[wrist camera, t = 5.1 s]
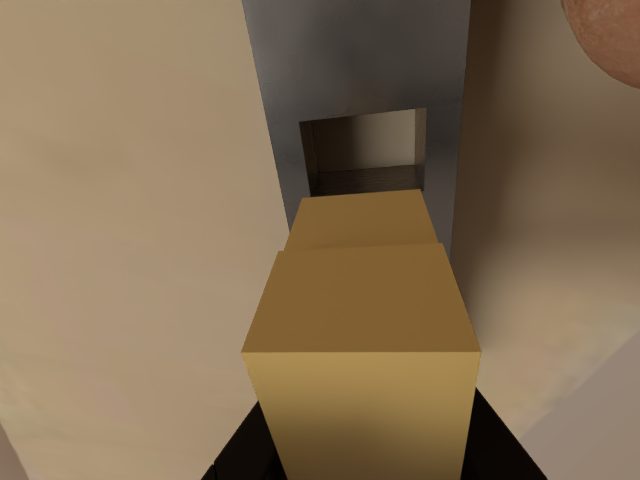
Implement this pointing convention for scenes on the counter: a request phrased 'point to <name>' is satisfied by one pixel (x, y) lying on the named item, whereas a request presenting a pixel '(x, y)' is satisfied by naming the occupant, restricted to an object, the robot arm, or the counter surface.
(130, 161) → the counter surface
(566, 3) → the onion
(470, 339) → the yellow rectangular block
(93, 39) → the counter surface
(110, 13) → the counter surface
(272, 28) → the rail
